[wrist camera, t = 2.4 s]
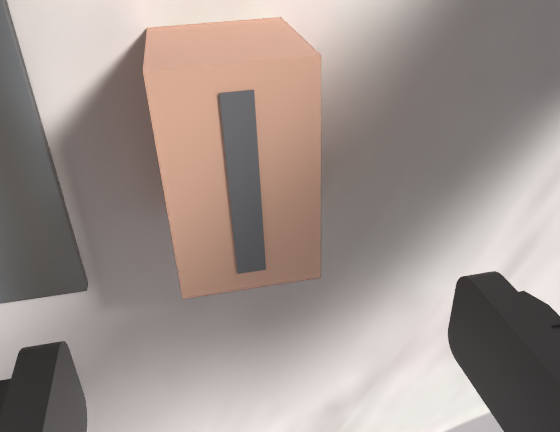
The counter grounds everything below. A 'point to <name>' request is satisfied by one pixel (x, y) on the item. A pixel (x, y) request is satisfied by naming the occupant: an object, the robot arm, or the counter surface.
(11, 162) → the arena
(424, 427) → the counter surface
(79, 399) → the robot arm
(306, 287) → the counter surface
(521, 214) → the counter surface
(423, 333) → the counter surface
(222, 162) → the terracotta block
